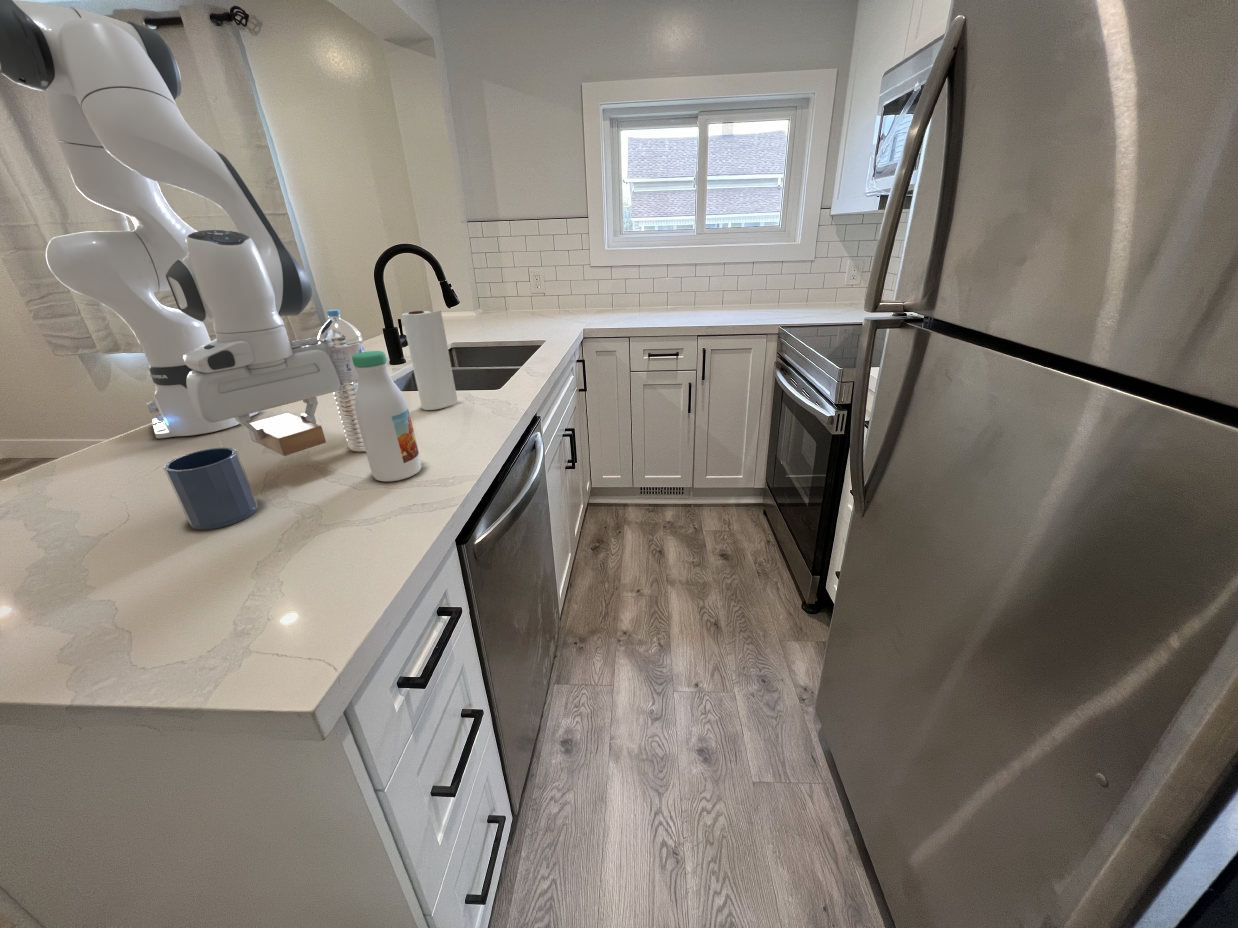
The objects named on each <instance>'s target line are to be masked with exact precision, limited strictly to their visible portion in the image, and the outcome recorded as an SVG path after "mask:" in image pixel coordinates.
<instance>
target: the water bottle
mask: <svg viewBox="0 0 1238 928" xmlns="http://www.w3.org/2000/svg"><path fill="white" fill-rule="evenodd" d="M340 313H341V312H340V309H329V310H326V314H327V317H328V320H327V321H326V322H325V323H324V325H323V326H322V327H321V329H320V330H319V332H318V335H317V339H318V340H323V341H324V342H325V343H326V347H327V348H328V351H329V355H330V359H331V361H332V363H333V365H334V367H335V370H336V372H337V375H338V377H339V380H340V387H339V390H338V391H336V392H332V393H333V397H334V401H335V405H336V408H337V411H338V415H339V418H340V421H341V425H342V429H343V433H344V435H345V439H346V442H347V445H348V448H349V450H351V451H352V452H357V453H366V451H365V447H364V443H363V440H362V436H361V432H360V428H359V424H358V420H357V416H356V410H355V398H356V393H357V388H358V372H357V370H355V366H354V364H353V360H352V356H353V355H355V354H357V353H361V352H366V351H365V347H364V343H363V342H364V339H363V335H362V333H361V332H360V331H359V329H357V327H356V326H354V325H353V324H352V323H350V322H348V321H346V320H345V319H342V318H341V314H340ZM320 343H321V342H319V343H318V344H320Z"/></svg>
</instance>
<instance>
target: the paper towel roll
mask: <svg viewBox="0 0 1238 928" xmlns="http://www.w3.org/2000/svg"><path fill="white" fill-rule="evenodd" d="M401 318H402V322H403V327H404V332H405V336H406V342H407V346H408V351H409V355H410V360H411V364H412V370H413V374H414V377H415V384H416V388H417V392H418V396H419V401H420V405H421V409H422V410H424V411H425V410H426V411H435V410H441V409H444V408H447V407H451V405H453V404H457V403H458V402H459V400H458V396H457V391H456V385H455V379H454V373H453V368H452V363H451V357H450V351H449V346H448V342H447V336H446V329H445V325H444V324H445V323H444V319H443V313H442V311H441V310H436V311H430V310H415V311H408V312H404V313H401Z"/></svg>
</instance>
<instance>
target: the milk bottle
mask: <svg viewBox="0 0 1238 928" xmlns="http://www.w3.org/2000/svg"><path fill="white" fill-rule="evenodd" d="M352 360H353V364H354V366H355V370H357V372H358V388H357V393H356V398H355V410H356V416H357V420H358V424H359V428H360V432H361V436H362V440H363V443H364V447H365V451H366V452H365V454H366V457H367V460H368V465H369V468H370V471H371V475H372V477H373V478H374V480H377V481H380V482H396V481H397V482H398V481H402V480H405V479H408V478H411V477H412V476H413V477H414V475H416V474H417V473H419V472H420V471H421V468H422V460H421V457H420V452H419V448H418V442H417V438H416V435H415V429H414V426H413V422H412V418H411V413H410V410H409V406H408V403H407V400H406V398H405V396H404V394H403V392H402V390H401V389H400V388H399V386H397V384H396V383H395V382H394V380H393V379H392V377H391V375H390V373H389V371H388V366H389V364H388V362H387V356H386V353H385V352H384V351H381V350H368V351H365V352H361V353H357V354H355V355H353V356H352Z"/></svg>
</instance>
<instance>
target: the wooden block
mask: <svg viewBox="0 0 1238 928" xmlns="http://www.w3.org/2000/svg"><path fill="white" fill-rule="evenodd" d="M249 423H250V424H251V425H252V426H253V427H257V426H259V427H261V428H263V430H264V434H265V437H266V438H264V439H261V440H258V441H255V440H253V439H252V438H251V435H250V434H249V436H250V438H251V441H252V442H254V443H256V444H259V445H260V446H262V447H265V448H266V449H268V450H271V451H273V452H275V453H276V454H279V455H280V456H283V457H287V456H289V455H292V454H295V453H299V452H301V451H306V450H309V449H312V448H314V447H317V446H320V445H323V444H327V439H326V437H325V433H324V430H323V427H322V425H321V424H318V423H313V422H310V421H307V420H305V419H302V418H301V416H297V415H294V414H292V413H289V412H286V413H282V414H278V415H275V416H271V417H266V418H263V419H259V420H256V421H252V422H249ZM247 431H248V432H249V430H248V429H247Z"/></svg>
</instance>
